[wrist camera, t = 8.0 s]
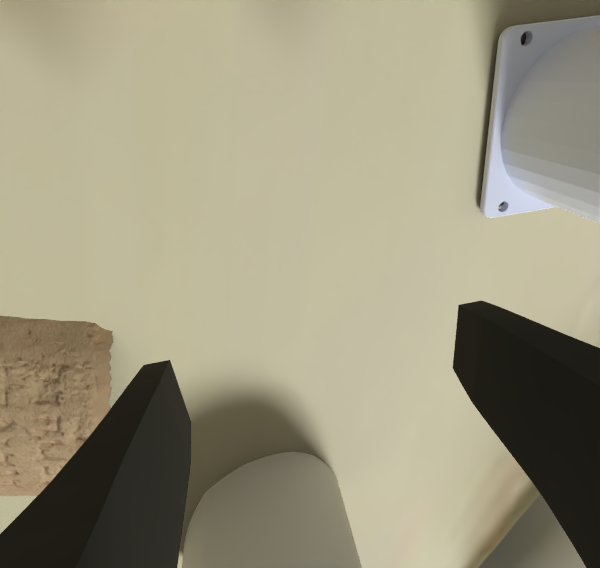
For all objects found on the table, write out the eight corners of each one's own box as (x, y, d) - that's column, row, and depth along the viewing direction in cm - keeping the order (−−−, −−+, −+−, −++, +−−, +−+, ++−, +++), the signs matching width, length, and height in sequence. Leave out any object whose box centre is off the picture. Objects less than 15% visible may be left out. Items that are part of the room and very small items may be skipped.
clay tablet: (-131, 286, 17) (-187, 319, 15) (119, 301, 20) (105, 332, 17) (-57, 501, 24) (-88, 548, 21) (126, 493, 26) (116, 536, 24)
